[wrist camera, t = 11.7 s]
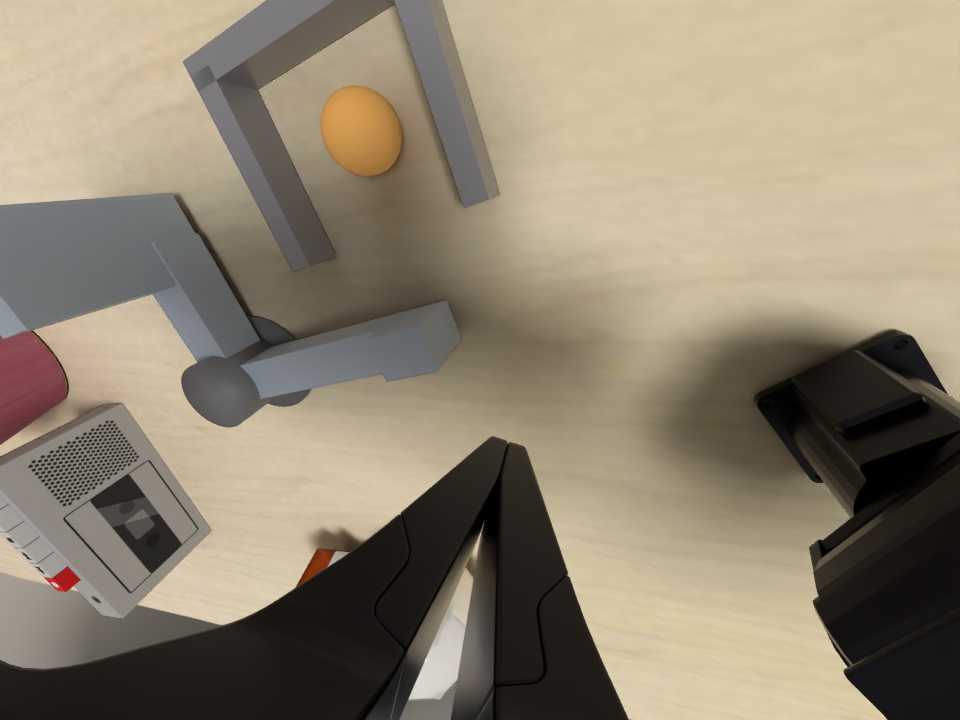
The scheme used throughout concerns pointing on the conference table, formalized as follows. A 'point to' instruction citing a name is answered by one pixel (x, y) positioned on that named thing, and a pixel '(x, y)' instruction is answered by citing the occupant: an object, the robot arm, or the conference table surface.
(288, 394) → the pivot plate
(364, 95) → the ball
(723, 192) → the conference table surface
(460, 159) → the pocket
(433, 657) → the potion bottle
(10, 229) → the lever
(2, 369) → the plant pot
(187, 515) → the cassette player
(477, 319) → the conference table surface
